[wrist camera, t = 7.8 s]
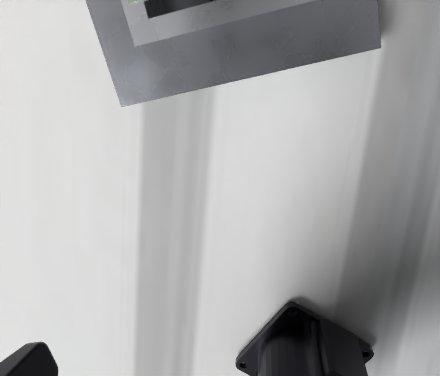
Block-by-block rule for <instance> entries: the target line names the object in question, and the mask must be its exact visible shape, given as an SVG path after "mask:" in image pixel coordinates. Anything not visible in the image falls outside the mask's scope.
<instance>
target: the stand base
mask: <svg viewBox="0 0 440 376" xmlns="http://www.w3.org/2000/svg"><path fill="white" fill-rule="evenodd" d="M86 3H87V6H88V9H89V12H90V15H91V18H92V21H93V24H94V27H95V30H96V33H97V36H98V39H99V42H100V45H101V47H102V50H103V53H104V56H105V59H106V62H107V65H108V68H109V71H110V74H111V77H112V80H113V83H114V86H115V89H116V92H117V95H118V98H119V101H120V104H121V107H124V106H128V105H133V104H137V103H141V102H146V101H150V100H154V99H159V98H163V97H168V96H172V95H176V94H181V93H185V92H189V91H194V90H198V89H203V88H207V87H211V86H216V85H220V84H225V83H229V82H233V81H238V80H242V79H246V78H251V77H255V76H260V75H264V74H268V73H273V72H277V71H281V70H286V69H290V68H295V67H299V66H303V65H308V64H312V63H317V62H321V61H325V60H330V59H334V58H338V57H343V56H347V55H352V54H356V53H360V52H365V51H369V50H373V49H378V48H381V39H380V26H379V12H378V0H147V1H143V2H140V3H128V0H86Z"/></svg>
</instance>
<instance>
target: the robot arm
mask: <svg viewBox="0 0 440 376" xmlns="http://www.w3.org/2000/svg"><path fill="white" fill-rule="evenodd" d="M290 310H295V311H294V312H291V311H290ZM364 351H367V352H364ZM373 356H374V353H373V349H372V347H371V346H370V345H369V344H367V343H366V342H364V341H362V340H360V339H359V338H357V336H356V335H354V334H352V333H351V332H349V331H347V330H345V329H344V328H342V327H340V326H338V325H337V324H335V323H333V322H331V321H330V320H328V319H326V318H322V317H320V316H318V315H317V314H315V313H313V312H311V311H310V310H308V309H306V308H304V307H303V306H301V305H299V304H297V303H295V302H290V303H287V304H286V305H285V306H284V307H283V308H282V309H281V310H280V311H279V312H278V313H277V315H276V316H275V317H274V318H273V319H272V320H271V321H270V322H269V323H268V324H267V325H266V326H265V328H264V329H263V330H262V331H261V332H260V333H259V334H258V335H257V336H256V337H255V338H254V339H253V340H252V342H251V343H250V344H249V345H248V346H247V347H246V348H245V349H244V350H243V351H242V352H241V353H240V354H239V356H238V357H237V358H236V367H237V369H239V370H241V371H242V372H244V373H246V374H248V375H250V376H368V374H367V371H366V367H365V363H367V362H368V361H369V360H370V359H371V358H372V357H373ZM0 376H58V366H57V364H56V362H55V360H54V358H53V356H52V354H51V352H50V350H49V348H48V346H47V344H45V343H44V342H34V343H28V344H26V345H24V346H23V347H21V348H20V349H18V350H17V351H16V352H14V353H13V354H11V355H10V356H9V357H7V358H6V359H4V360H3V361H2V362H0Z"/></svg>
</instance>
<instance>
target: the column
mask: <svg viewBox="0 0 440 376" xmlns="http://www.w3.org/2000/svg"><path fill="white" fill-rule="evenodd" d="M143 1H147V0H128V3H140V2H143Z"/></svg>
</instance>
